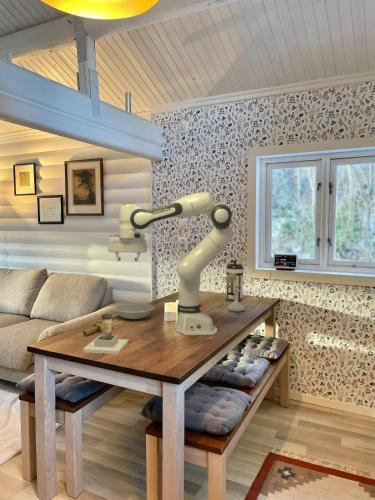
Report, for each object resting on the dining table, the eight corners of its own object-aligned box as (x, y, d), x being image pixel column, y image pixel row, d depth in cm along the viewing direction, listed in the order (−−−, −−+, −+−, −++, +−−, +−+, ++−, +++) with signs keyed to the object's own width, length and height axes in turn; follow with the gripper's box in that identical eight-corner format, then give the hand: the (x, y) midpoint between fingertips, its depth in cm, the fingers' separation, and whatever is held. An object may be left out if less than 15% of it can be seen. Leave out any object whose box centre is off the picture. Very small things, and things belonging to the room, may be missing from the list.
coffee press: (219, 299, 283) (220, 259, 281) (237, 297, 290) (238, 258, 287) (231, 303, 267) (232, 261, 265) (250, 301, 274) (251, 261, 272)
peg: (113, 342, 173) (113, 314, 172) (110, 346, 169) (110, 316, 168) (103, 342, 174) (103, 313, 173) (99, 345, 169) (99, 316, 168)
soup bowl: (138, 325, 208) (138, 314, 207) (105, 319, 219) (105, 308, 219) (162, 316, 229) (162, 305, 228) (130, 311, 240) (130, 301, 240)
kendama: (91, 340, 185) (116, 327, 200) (88, 328, 185) (113, 315, 200) (81, 340, 190) (106, 327, 205) (78, 328, 189) (103, 316, 204)
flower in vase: (244, 309, 251) (245, 272, 249) (245, 313, 240) (246, 274, 238) (224, 308, 252) (225, 271, 250) (224, 312, 241) (225, 274, 239)
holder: (128, 342, 178) (128, 333, 178) (118, 354, 163) (118, 344, 162) (96, 341, 180) (95, 331, 180) (82, 352, 164) (82, 342, 164)
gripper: (106, 234, 193) (106, 261, 194) (145, 235, 191) (145, 262, 192) (110, 234, 199) (110, 260, 200) (147, 234, 197) (147, 260, 198)
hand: (127, 261), depth 196 cm, fingers open, 8 cm apart
